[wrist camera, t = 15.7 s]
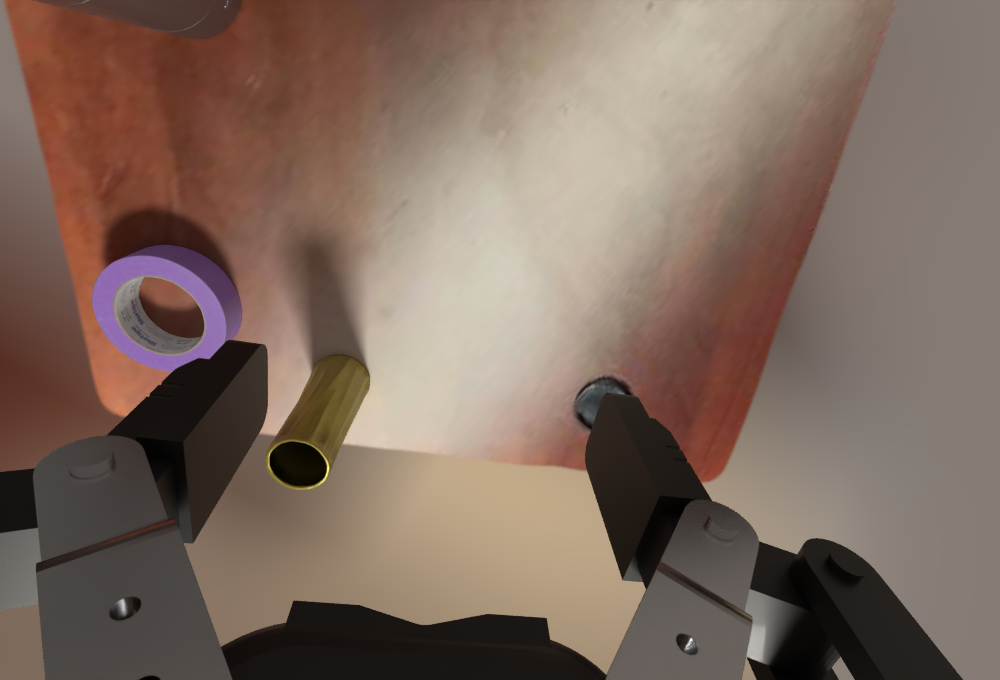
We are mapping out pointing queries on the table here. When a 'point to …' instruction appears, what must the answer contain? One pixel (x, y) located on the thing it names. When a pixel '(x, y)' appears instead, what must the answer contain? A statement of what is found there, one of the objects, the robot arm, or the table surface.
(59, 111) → the table surface
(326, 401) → the vase
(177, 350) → the masking tape
